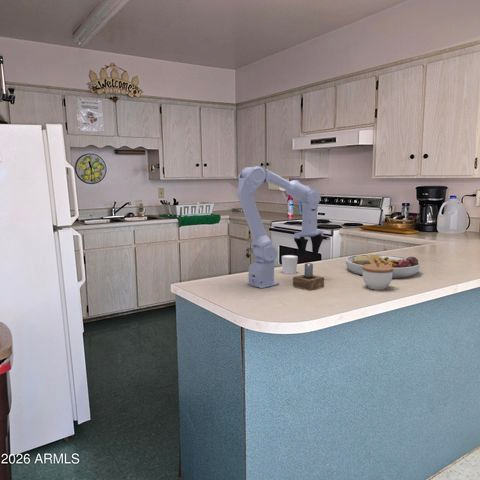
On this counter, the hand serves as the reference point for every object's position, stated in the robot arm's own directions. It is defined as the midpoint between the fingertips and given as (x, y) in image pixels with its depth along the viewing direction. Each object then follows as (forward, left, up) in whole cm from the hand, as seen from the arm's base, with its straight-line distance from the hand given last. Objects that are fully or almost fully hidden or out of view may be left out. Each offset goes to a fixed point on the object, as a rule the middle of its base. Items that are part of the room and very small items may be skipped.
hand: (308, 255), depth 162 cm
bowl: (+36, -10, -10) cm, 39 cm away
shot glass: (+4, +14, -10) cm, 18 cm away
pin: (-8, -7, -9) cm, 14 cm away
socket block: (-8, -7, -10) cm, 15 cm away
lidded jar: (+10, -24, -10) cm, 28 cm away
